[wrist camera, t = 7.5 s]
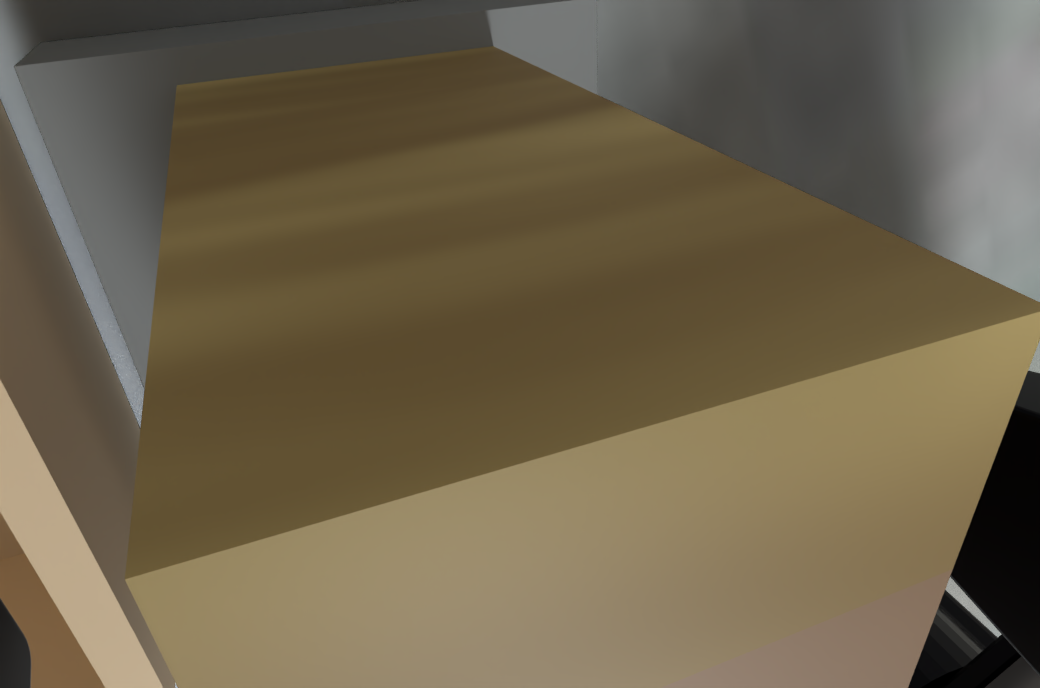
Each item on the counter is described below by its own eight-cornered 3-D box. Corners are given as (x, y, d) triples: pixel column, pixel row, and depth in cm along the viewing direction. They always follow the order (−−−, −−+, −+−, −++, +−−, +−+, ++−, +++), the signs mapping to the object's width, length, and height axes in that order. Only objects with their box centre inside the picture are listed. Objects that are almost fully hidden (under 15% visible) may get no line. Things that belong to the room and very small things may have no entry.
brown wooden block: (176, 85, 10) (124, 579, 3) (493, 45, 11) (1050, 307, 4) (301, 517, 14) (413, 1162, 7) (520, 453, 15) (810, 944, 8)
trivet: (547, -14, 13) (596, -3, 11) (561, 398, 18) (598, 448, 16) (40, 42, 11) (14, 66, 9) (213, 496, 15) (215, 564, 14)
